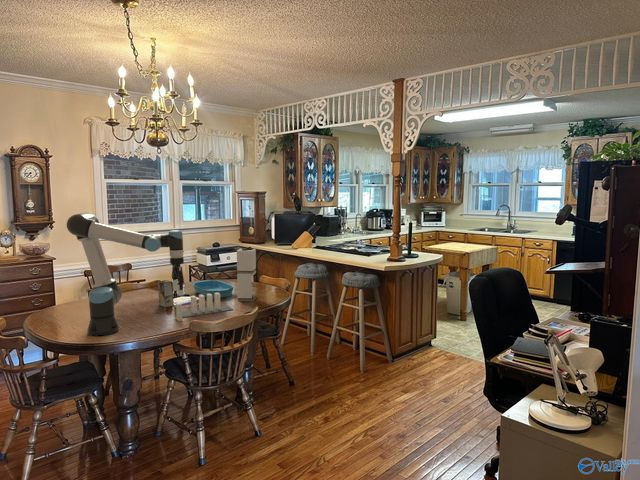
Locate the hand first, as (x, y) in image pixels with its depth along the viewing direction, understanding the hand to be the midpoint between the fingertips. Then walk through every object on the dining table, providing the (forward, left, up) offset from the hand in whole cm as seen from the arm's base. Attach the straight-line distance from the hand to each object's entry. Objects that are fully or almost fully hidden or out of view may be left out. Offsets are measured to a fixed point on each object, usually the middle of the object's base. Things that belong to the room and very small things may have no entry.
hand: (178, 292), depth 248 cm
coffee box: (0, +37, -17) cm, 40 cm away
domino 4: (+21, +9, -16) cm, 28 cm away
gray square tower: (+52, +24, -16) cm, 59 cm away
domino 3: (+16, +9, -16) cm, 24 cm away
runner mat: (+18, +9, -16) cm, 26 cm away
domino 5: (+26, +9, -16) cm, 32 cm away
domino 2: (+11, +9, -16) cm, 21 cm away
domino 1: (0, 0, -16) cm, 16 cm away
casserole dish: (+36, +51, -17) cm, 65 cm away
